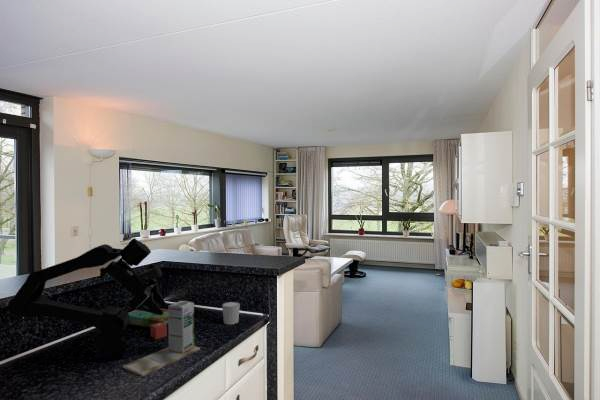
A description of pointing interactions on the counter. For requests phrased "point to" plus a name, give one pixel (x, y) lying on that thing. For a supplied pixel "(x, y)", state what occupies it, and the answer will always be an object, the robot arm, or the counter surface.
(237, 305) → the shot glass
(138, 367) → the game board
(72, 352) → the counter surface
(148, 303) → the robot arm
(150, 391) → the counter surface
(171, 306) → the syrup box
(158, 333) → the red die
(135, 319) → the puzzle game
